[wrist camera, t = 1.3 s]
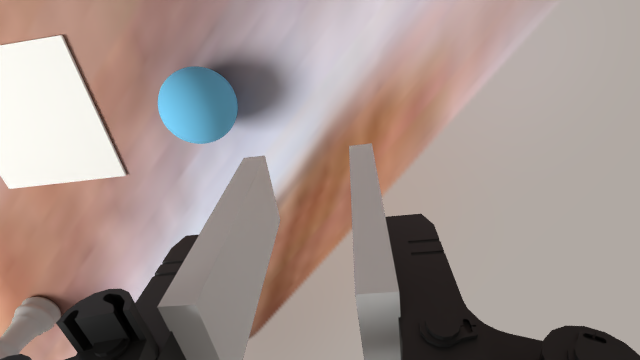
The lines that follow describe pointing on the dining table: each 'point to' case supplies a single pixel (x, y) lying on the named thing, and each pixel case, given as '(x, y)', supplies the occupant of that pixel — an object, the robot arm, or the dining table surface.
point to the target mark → (49, 119)
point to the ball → (197, 105)
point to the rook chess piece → (28, 324)
